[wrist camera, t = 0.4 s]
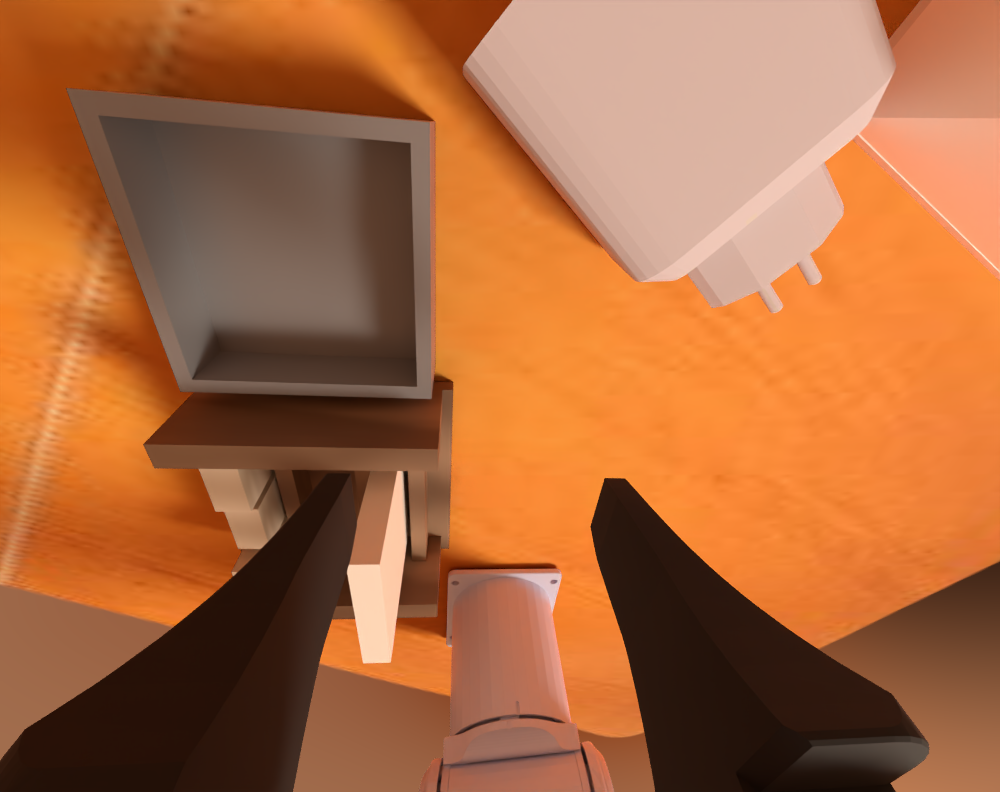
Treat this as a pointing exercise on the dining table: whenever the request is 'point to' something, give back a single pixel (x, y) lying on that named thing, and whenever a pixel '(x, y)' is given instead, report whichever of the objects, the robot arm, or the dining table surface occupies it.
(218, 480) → the offcuts
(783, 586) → the dining table surface
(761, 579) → the dining table surface
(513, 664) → the robot arm
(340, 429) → the rack
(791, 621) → the dining table surface
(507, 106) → the charger
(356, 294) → the tray
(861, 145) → the white lidded square jar
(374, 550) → the sheet
